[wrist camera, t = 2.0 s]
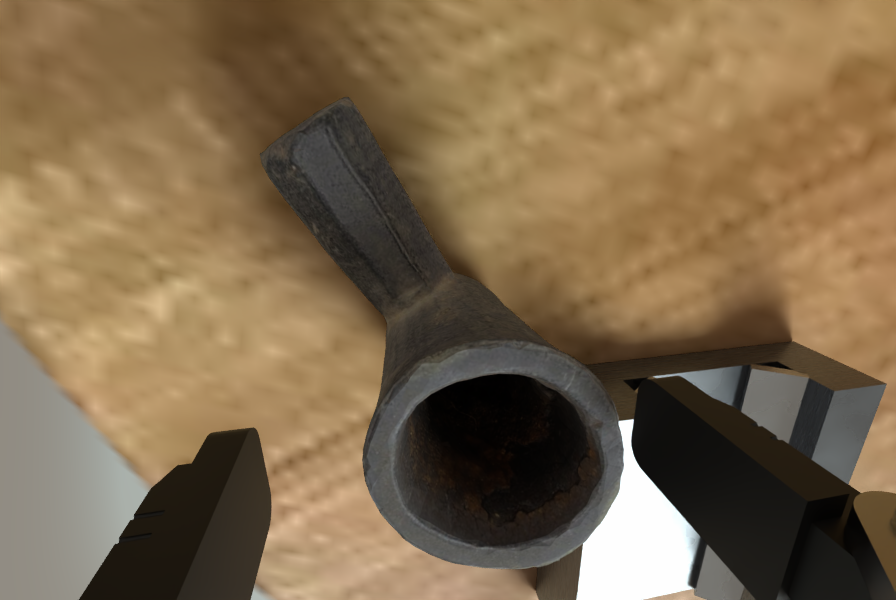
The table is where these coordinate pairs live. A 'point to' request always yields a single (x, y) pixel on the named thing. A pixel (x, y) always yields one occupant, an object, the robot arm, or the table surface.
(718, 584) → the v block
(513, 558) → the pipe
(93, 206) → the table surface
